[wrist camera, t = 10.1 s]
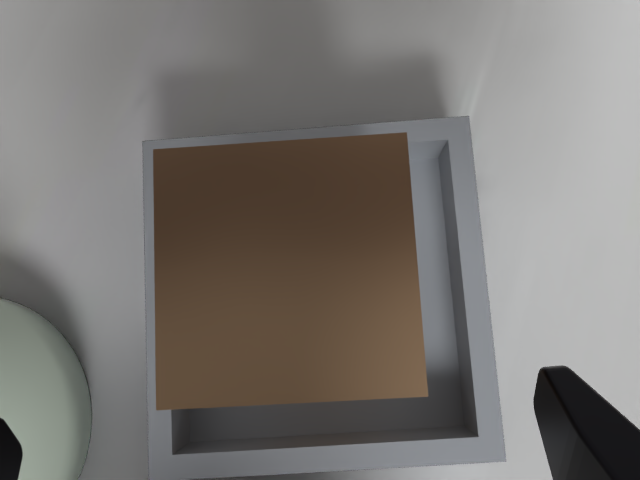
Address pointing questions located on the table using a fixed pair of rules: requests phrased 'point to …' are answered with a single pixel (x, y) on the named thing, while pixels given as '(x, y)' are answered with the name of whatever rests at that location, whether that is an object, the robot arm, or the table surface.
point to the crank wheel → (43, 395)
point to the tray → (361, 415)
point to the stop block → (286, 273)
